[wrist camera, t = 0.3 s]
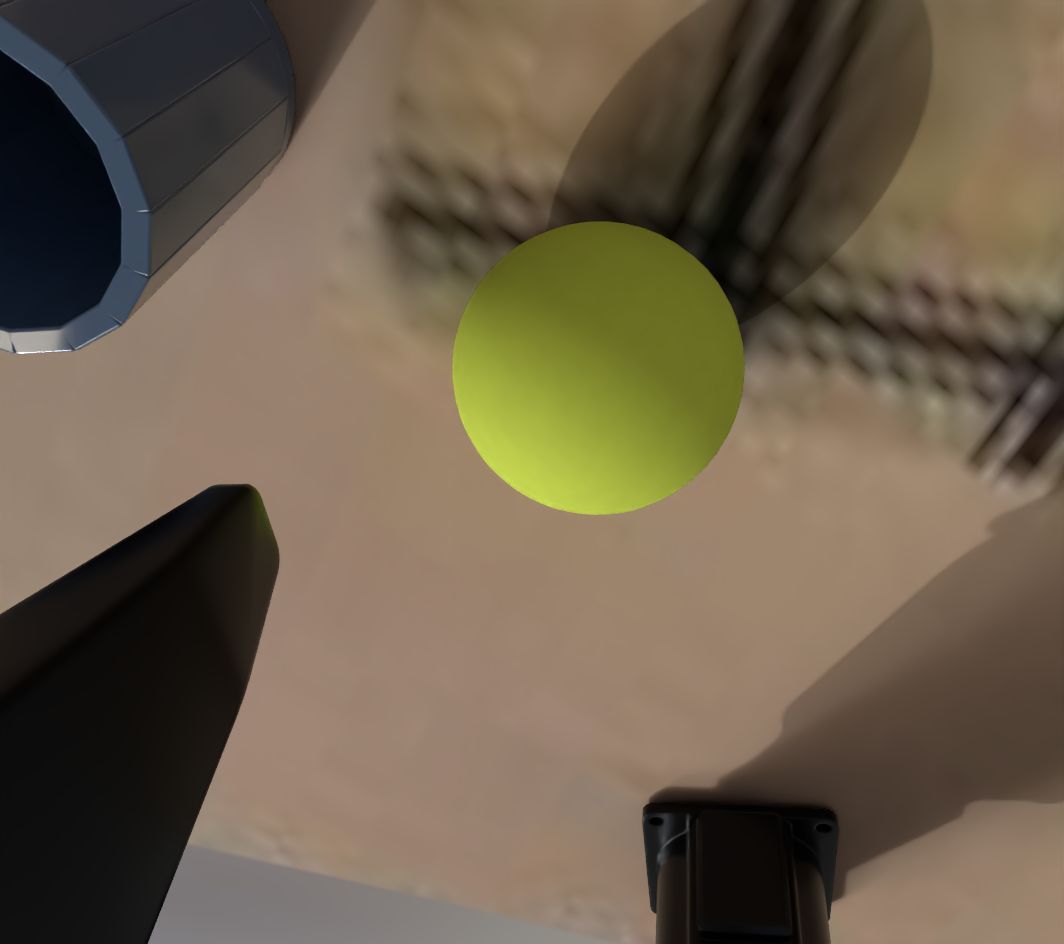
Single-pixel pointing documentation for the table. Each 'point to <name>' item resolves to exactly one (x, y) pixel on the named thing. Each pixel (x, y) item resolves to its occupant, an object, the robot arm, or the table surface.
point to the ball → (598, 368)
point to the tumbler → (125, 151)
